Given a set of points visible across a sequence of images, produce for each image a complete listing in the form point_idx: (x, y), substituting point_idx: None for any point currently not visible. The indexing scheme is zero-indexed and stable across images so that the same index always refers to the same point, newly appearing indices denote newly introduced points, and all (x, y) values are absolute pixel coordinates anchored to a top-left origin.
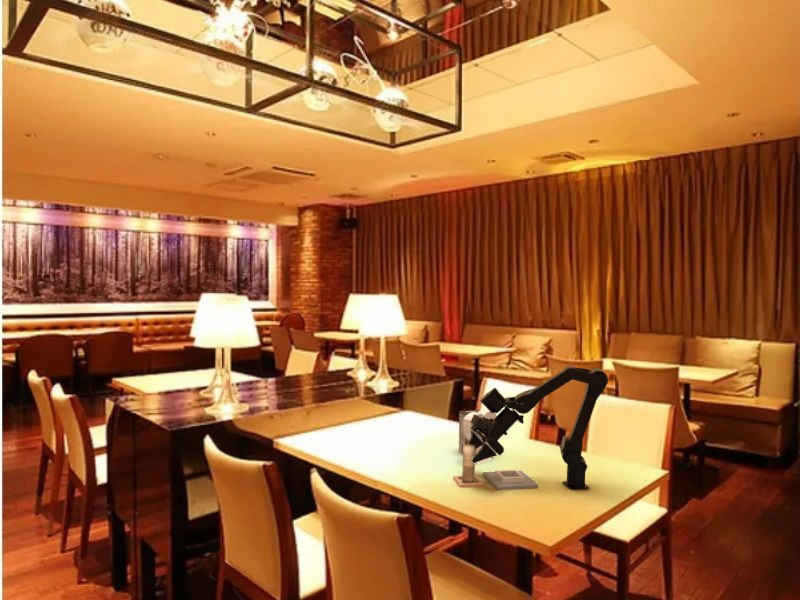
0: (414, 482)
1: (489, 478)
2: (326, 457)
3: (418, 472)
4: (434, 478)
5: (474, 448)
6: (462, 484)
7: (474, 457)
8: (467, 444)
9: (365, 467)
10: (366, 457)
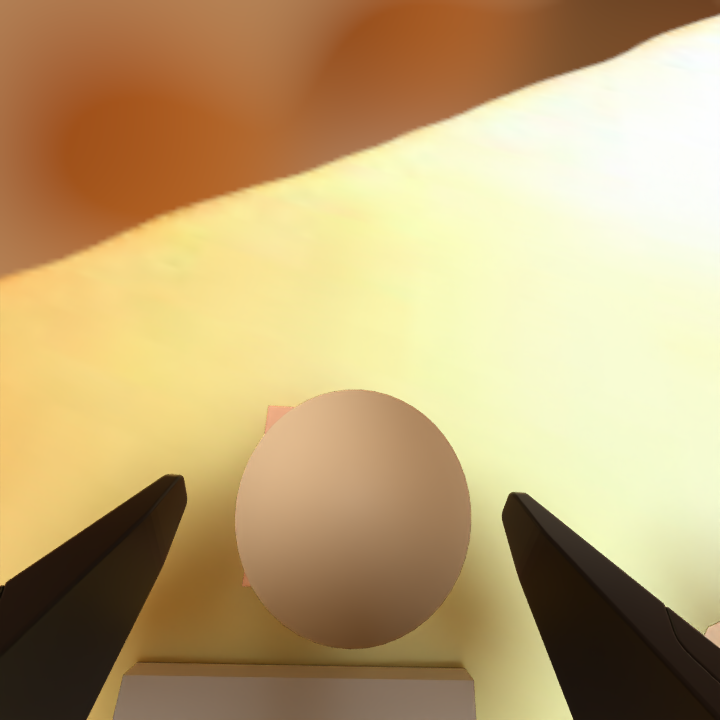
0: (385, 222)
1: (321, 684)
2: (670, 47)
3: (520, 274)
4: (428, 320)
5: (259, 585)
6: (268, 421)
7: (136, 503)
8: (466, 507)
9: (575, 116)
10: (699, 143)
